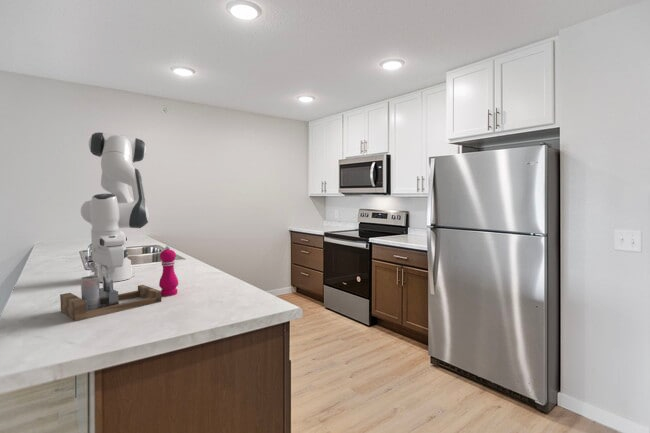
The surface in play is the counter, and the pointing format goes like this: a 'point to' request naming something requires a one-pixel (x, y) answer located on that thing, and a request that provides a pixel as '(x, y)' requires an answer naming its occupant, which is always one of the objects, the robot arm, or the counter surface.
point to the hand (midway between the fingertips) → (107, 277)
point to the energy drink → (90, 292)
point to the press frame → (77, 309)
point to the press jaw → (107, 290)
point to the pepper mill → (168, 273)
